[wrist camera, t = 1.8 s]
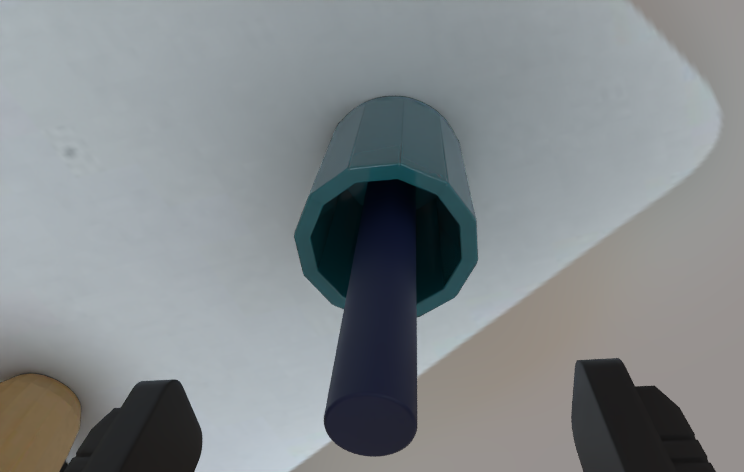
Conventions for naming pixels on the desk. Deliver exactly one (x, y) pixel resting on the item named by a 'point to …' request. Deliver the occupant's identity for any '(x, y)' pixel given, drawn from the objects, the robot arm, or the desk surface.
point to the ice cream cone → (36, 423)
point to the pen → (378, 330)
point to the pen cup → (386, 162)
